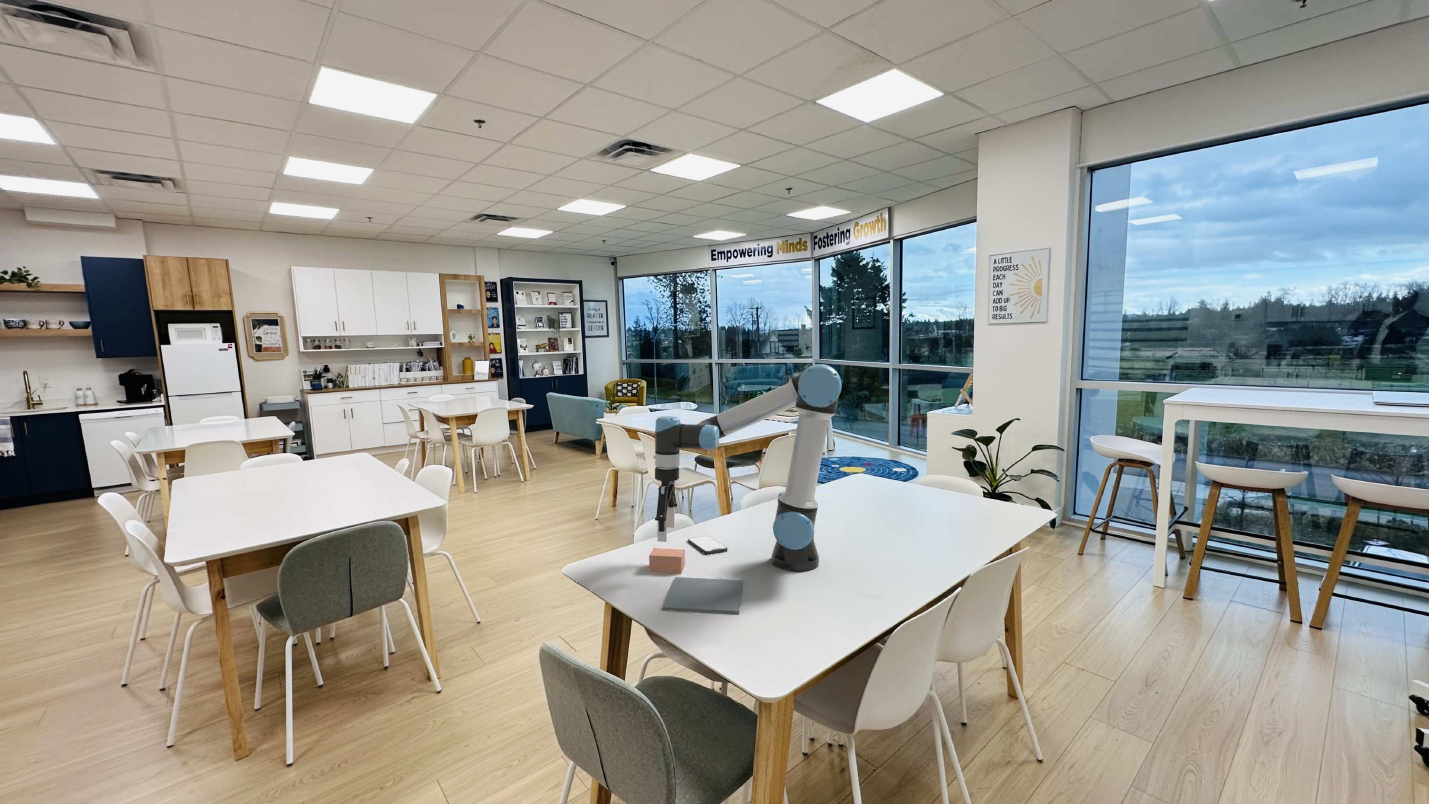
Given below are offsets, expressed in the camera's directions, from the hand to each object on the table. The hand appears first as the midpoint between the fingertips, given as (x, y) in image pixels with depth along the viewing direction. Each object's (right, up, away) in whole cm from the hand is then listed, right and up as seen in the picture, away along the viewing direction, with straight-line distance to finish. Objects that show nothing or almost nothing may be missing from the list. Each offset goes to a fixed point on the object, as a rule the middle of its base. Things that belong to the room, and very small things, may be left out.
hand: (666, 534), depth 173 cm
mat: (+12, -13, -18) cm, 25 cm away
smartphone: (+12, -10, +22) cm, 27 cm away
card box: (0, -11, +1) cm, 11 cm away
